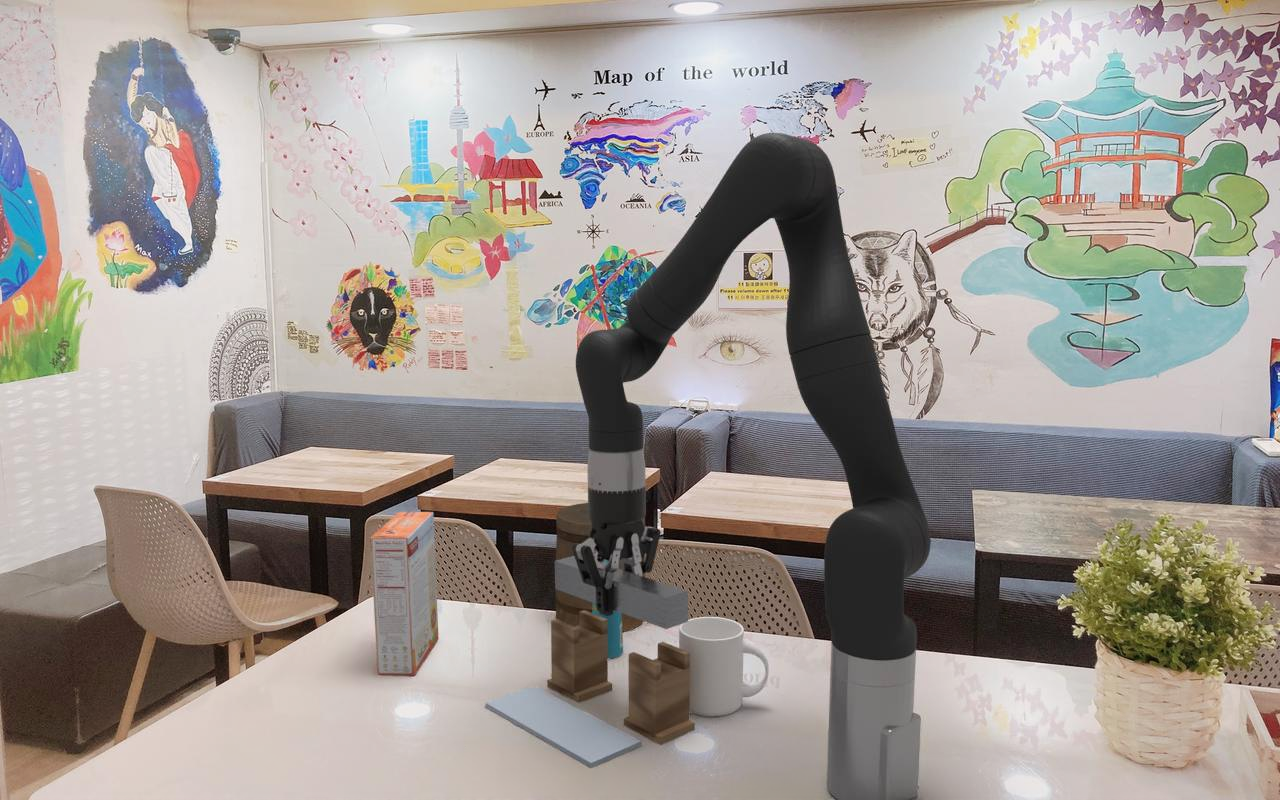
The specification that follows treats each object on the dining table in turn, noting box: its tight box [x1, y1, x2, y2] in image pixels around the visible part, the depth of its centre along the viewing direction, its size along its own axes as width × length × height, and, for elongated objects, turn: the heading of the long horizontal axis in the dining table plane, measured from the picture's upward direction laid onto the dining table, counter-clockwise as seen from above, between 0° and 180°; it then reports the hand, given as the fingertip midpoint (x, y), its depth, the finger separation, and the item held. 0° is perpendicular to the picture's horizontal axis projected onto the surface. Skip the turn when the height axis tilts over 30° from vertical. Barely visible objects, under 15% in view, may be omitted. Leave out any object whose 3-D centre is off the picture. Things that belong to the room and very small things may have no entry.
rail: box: [554, 556, 689, 630], centre depth 133 cm, size 22×4×4 cm, turn 43°
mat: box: [485, 685, 642, 768], centre depth 131 cm, size 22×8×1 cm, turn 43°
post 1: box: [546, 610, 613, 704], centre depth 141 cm, size 7×6×10 cm
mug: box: [678, 616, 770, 717], centre depth 136 cm, size 9×12×11 cm
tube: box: [592, 559, 624, 660], centre depth 153 cm, size 7×5×19 cm, turn 28°
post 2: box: [622, 641, 696, 746], centre depth 129 cm, size 7×6×10 cm
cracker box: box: [369, 511, 439, 676], centre depth 151 cm, size 14×6×21 cm, turn 176°
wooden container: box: [555, 502, 646, 633], centre depth 167 cm, size 15×15×22 cm
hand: (618, 609), depth 134 cm, fingers closed on rail, 3 cm apart
